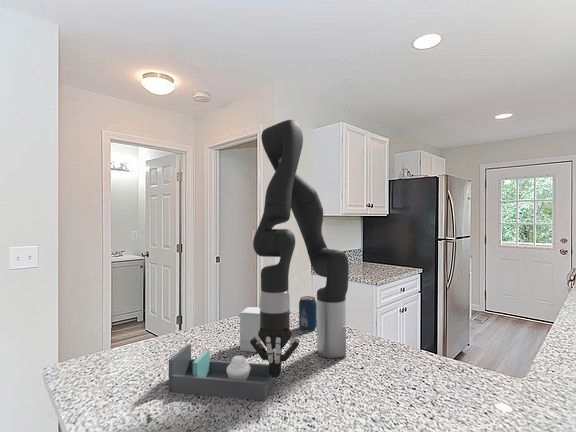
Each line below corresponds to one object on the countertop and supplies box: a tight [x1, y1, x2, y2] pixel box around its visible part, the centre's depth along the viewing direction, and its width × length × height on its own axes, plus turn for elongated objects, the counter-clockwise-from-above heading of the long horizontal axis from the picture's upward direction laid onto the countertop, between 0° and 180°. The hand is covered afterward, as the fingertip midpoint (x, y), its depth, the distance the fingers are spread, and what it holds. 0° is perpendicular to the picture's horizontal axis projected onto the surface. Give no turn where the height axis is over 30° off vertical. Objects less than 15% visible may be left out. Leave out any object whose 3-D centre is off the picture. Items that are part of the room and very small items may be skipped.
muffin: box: [226, 355, 251, 381], centre depth 83 cm, size 6×6×7 cm
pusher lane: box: [168, 343, 275, 402], centre depth 83 cm, size 25×10×8 cm, turn 80°
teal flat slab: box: [193, 349, 211, 377], centre depth 85 cm, size 1×8×6 cm, turn 170°
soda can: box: [298, 295, 317, 332], centre depth 126 cm, size 7×7×12 cm
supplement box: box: [239, 306, 266, 353], centre depth 108 cm, size 7×7×13 cm
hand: (275, 376), depth 81 cm, fingers closed
